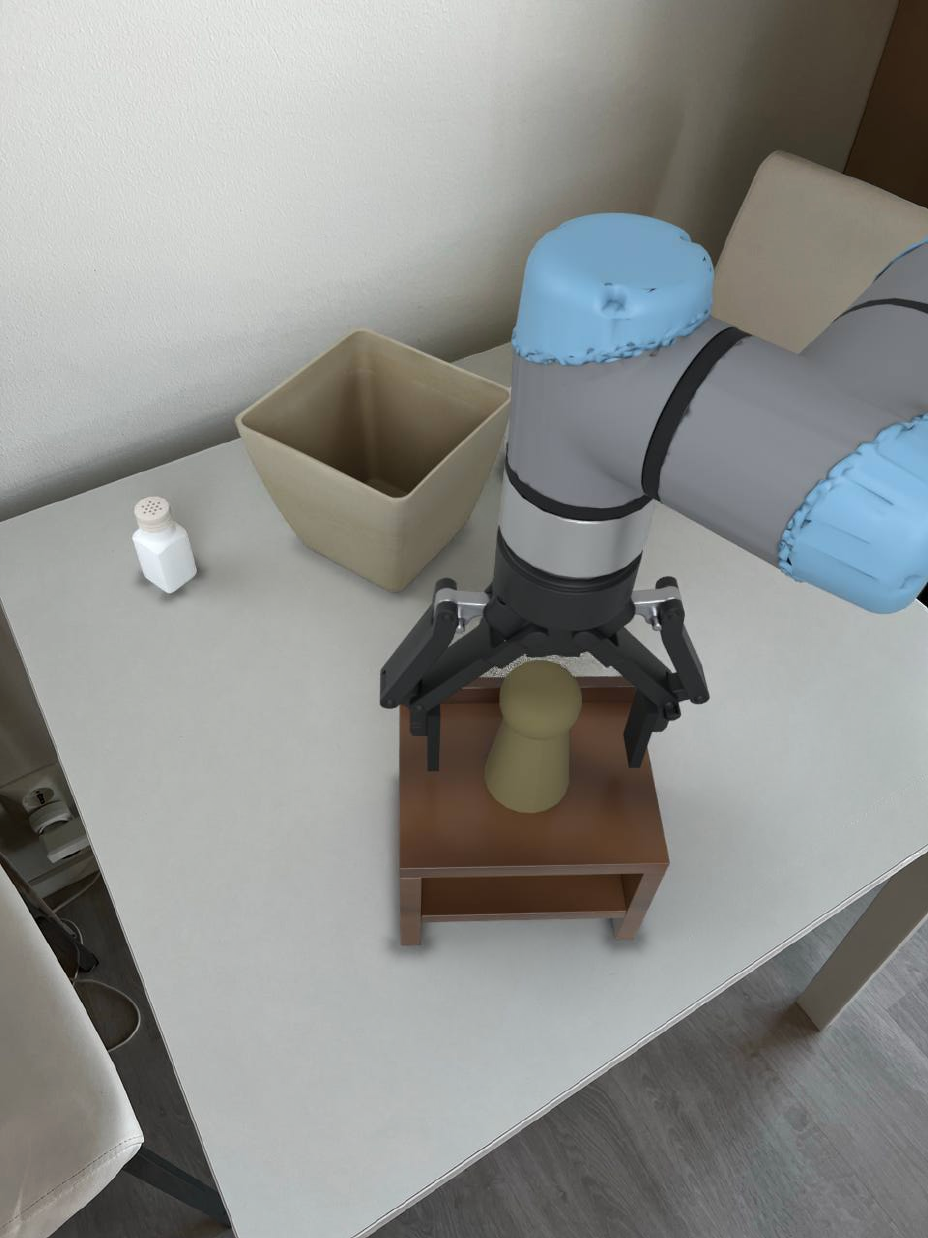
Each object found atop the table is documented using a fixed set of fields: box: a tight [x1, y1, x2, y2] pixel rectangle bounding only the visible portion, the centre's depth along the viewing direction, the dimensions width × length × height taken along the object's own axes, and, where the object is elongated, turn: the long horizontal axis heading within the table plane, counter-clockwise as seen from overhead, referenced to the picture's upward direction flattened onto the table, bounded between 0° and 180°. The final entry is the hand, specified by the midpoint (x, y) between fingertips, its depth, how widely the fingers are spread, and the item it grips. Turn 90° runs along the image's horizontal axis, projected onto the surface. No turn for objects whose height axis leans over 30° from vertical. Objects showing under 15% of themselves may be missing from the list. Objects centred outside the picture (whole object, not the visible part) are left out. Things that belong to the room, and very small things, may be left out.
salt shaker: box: [131, 496, 198, 594], centre depth 91 cm, size 4×4×10 cm
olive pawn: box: [484, 659, 582, 813], centre depth 62 cm, size 6×6×11 cm
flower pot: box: [234, 326, 511, 593], centre depth 94 cm, size 19×19×17 cm
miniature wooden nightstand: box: [398, 675, 671, 946], centre depth 71 cm, size 14×18×16 cm
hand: (532, 752), depth 64 cm, fingers open, 13 cm apart
